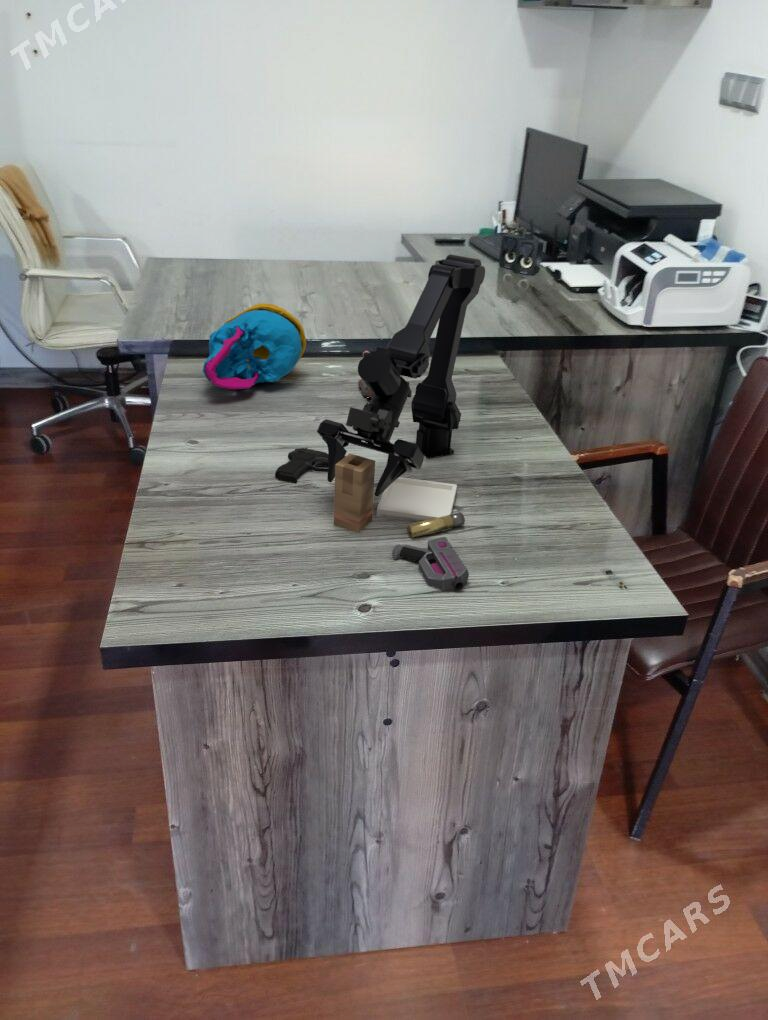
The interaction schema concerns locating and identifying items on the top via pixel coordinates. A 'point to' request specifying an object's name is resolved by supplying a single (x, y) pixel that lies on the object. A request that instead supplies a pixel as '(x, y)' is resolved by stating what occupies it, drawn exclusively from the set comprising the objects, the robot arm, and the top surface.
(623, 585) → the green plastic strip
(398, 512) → the tray
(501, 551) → the top surface
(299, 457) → the handgun
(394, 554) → the toy gun
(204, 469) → the top surface
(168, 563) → the top surface
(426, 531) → the bullet cartridge
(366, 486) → the brown tall hollow block
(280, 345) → the anatomical model
